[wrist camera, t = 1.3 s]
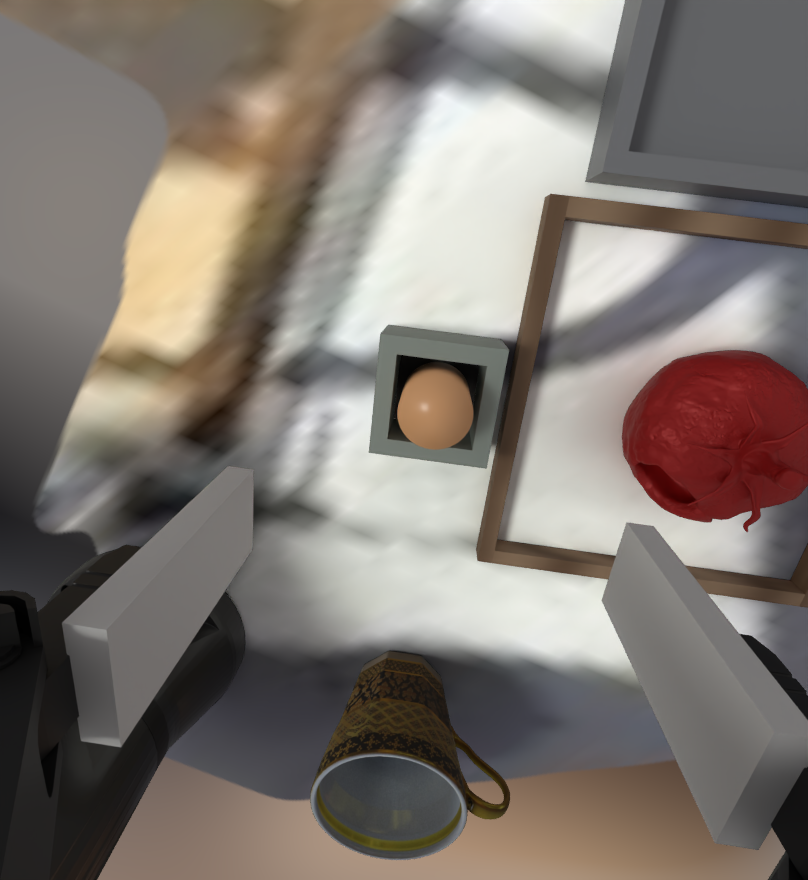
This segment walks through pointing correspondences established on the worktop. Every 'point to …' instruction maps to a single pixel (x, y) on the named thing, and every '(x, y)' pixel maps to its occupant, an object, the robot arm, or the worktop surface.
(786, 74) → the tray
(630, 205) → the wooden flat square frame
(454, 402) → the button
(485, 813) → the ceramic cup
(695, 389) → the pomegranate
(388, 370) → the button housing
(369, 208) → the worktop surface
